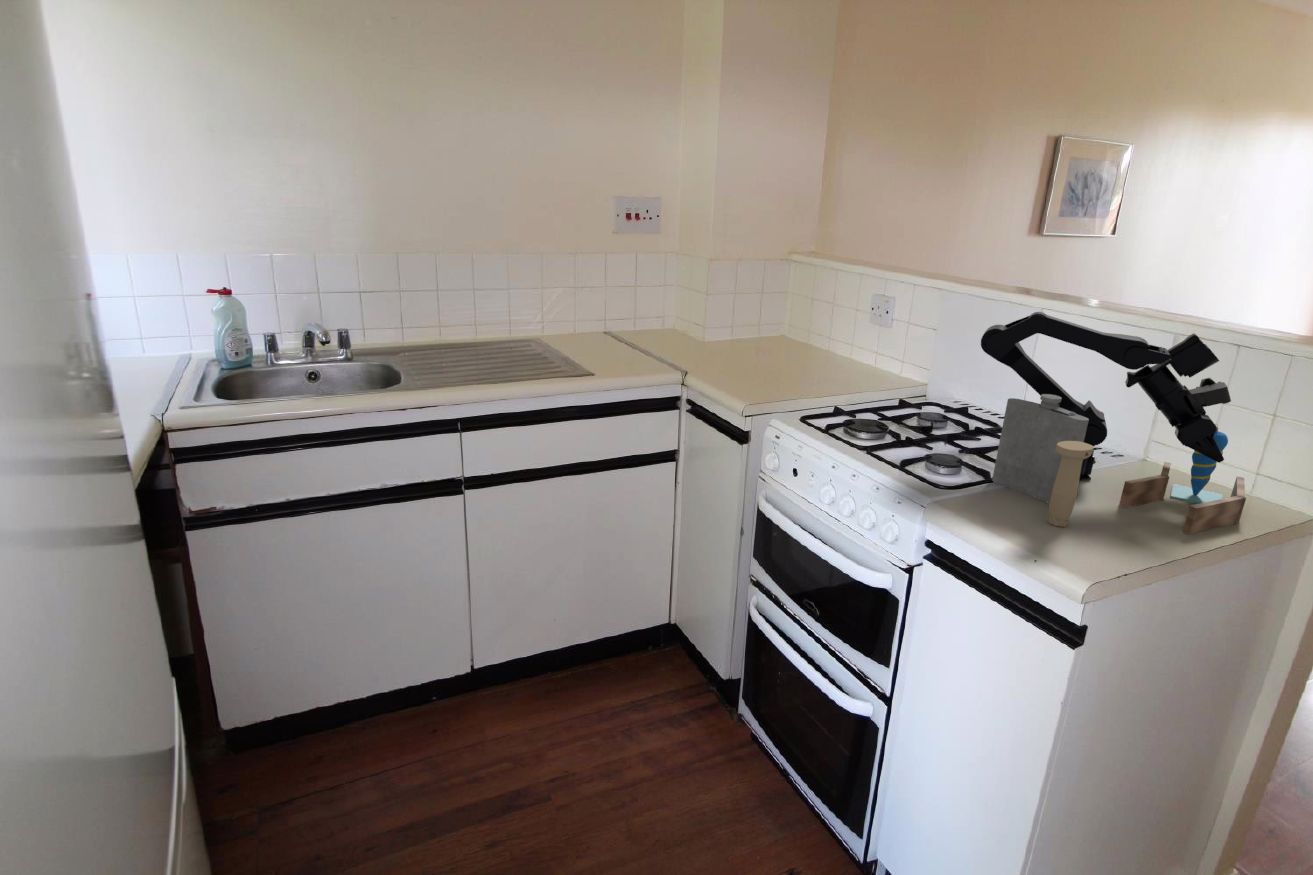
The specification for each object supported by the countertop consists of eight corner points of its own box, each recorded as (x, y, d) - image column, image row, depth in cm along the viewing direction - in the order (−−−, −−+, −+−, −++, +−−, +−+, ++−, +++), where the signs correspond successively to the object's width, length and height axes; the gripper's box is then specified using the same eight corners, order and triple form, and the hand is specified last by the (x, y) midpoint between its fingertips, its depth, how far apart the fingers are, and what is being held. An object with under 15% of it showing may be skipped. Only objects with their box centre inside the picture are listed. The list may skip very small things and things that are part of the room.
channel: (1146, 530, 136) (1153, 504, 134) (1089, 478, 160) (1094, 456, 158) (1301, 543, 133) (1310, 517, 131) (1219, 489, 157) (1226, 466, 155)
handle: (1081, 526, 136) (1100, 447, 131) (1057, 532, 133) (1075, 452, 129) (1057, 516, 140) (1075, 439, 135) (1033, 521, 138) (1050, 443, 133)
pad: (1221, 508, 147) (1222, 507, 146) (1170, 497, 151) (1170, 495, 151) (1221, 496, 153) (1222, 494, 153) (1172, 485, 158) (1173, 483, 158)
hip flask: (988, 481, 156) (1006, 387, 150) (1000, 477, 158) (1019, 385, 152) (1062, 509, 144) (1085, 407, 137) (1074, 505, 146) (1098, 405, 139)
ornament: (1198, 490, 154) (1219, 420, 150) (1217, 500, 150) (1239, 428, 145) (1174, 490, 154) (1194, 419, 150) (1192, 499, 149) (1213, 427, 145)
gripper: (1216, 376, 138) (1273, 445, 136) (1200, 358, 153) (1251, 419, 152) (1155, 411, 143) (1208, 477, 142) (1145, 390, 159) (1194, 449, 158)
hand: (1217, 454), depth 149 cm, fingers open, 9 cm apart
